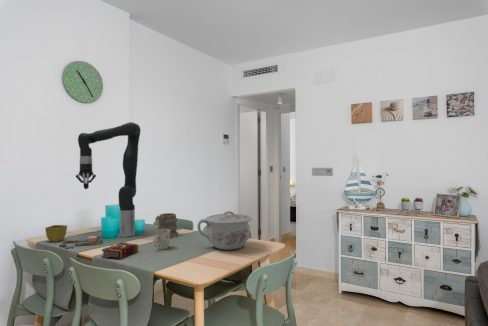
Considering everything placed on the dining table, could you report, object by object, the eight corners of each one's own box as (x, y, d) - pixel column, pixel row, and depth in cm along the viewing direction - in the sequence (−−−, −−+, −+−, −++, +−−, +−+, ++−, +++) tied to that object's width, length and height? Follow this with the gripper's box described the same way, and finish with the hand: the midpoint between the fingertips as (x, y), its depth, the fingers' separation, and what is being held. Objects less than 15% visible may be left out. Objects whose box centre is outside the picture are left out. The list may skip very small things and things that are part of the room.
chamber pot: (261, 245, 187) (261, 210, 187) (233, 257, 165) (233, 217, 164) (223, 238, 203) (223, 206, 203) (193, 248, 180) (193, 212, 180)
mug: (173, 246, 184) (173, 229, 184) (160, 252, 172) (160, 234, 172) (160, 245, 187) (160, 228, 187) (147, 251, 175) (147, 233, 175)
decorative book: (138, 252, 174) (138, 243, 174) (118, 260, 159) (118, 250, 159) (121, 250, 178) (121, 241, 178) (99, 258, 163) (99, 249, 163)
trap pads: (88, 240, 199) (88, 239, 199) (71, 249, 180) (71, 247, 180) (80, 240, 199) (80, 239, 199) (62, 249, 180) (62, 247, 180)
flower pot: (67, 239, 202) (67, 225, 202) (58, 242, 193) (58, 228, 193) (54, 239, 203) (54, 224, 203) (44, 242, 194) (44, 227, 194)
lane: (101, 240, 199) (101, 232, 199) (100, 244, 189) (100, 236, 189) (62, 243, 192) (62, 235, 191) (59, 247, 182) (59, 239, 182)
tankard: (165, 232, 221) (165, 211, 221) (181, 234, 217) (181, 212, 217) (146, 239, 203) (146, 215, 203) (163, 240, 198) (163, 216, 198)
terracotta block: (97, 242, 195) (97, 235, 195) (96, 244, 191) (96, 237, 191) (88, 242, 194) (88, 236, 194) (87, 244, 189) (87, 238, 189)
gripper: (97, 163, 218) (97, 188, 219) (75, 163, 214) (75, 188, 214) (96, 163, 211) (96, 189, 211) (73, 163, 207) (74, 189, 207)
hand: (86, 189), depth 213 cm, fingers closed
